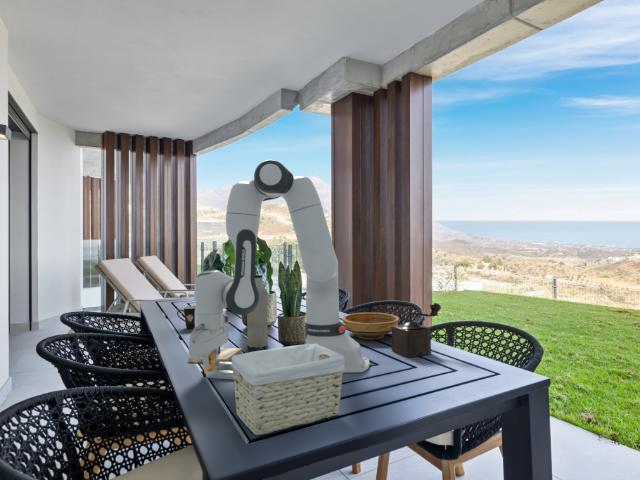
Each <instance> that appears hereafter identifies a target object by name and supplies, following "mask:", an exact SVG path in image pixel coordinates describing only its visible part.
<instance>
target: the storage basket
mask: <svg viewBox="0 0 640 480" xmlns="http://www.w3.org/2000/svg"><path fill="white" fill-rule="evenodd" d="M320 357H321V359H322V358H323V360H320ZM231 362H232V364H231V365H232V367H233V370H232V371H233V374H234V377H233V378H234V380H233V383H234V397H235V399H234V400H235V401H234V402H235V410H236V411H235V413H236V415H237V417H238V418H239V419H240V420H241V421H242V422H243V424H245V426H246V427H247V428H248V429H249V430H250V431H251V433H253V434H254V435H256V436H261V435H262V436H263V435H266V434H270V433H273V432H277V431H280V430H284V429H289V428H291V427H295V426H300V425H307V424H311V423H314V422H316V421H320V420H323V419H327V418H328V419H329V418H330V417H334V416H338V415H339V414H340V407H341V406H340V403H341V396H342V395H341V393H342V392H341V391H342V385H343V383H342V382H343V375H344V373H343V371H344V356H343V355H340V354H338V353H336V352H334V351H332V350H330V349H327V348H325V347H323V346H320V345H318V344H306V343H305V344H298V345H290V346H284V347H283V346H282V347H278V348H277V347H276V348H270V349H263V350H256V351H250V352H245V353H241V354H239V355H234V356H233V357H232V360H231Z"/></svg>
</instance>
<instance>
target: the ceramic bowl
mask: <svg viewBox="0 0 640 480" xmlns="http://www.w3.org/2000/svg"><path fill="white" fill-rule="evenodd" d="M341 320H342V323H343V324H344V323H345V330H347V331H349V332H351V333H352V334H355V335H357V337H358V338H359V339H362V340H363V339H364V340H380V339H383V338H384V337H385V336H386V335H387V334H390V333H392V326H397V325H399V320H400V317H399V316H397V315H395V314H391V313H390V314H389V313H385V312H355V313H350V314H346V315H344V316H342V317H341Z"/></svg>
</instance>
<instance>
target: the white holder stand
mask: <svg viewBox="0 0 640 480" xmlns="http://www.w3.org/2000/svg"><path fill="white" fill-rule="evenodd" d="M208 359H209V360H210V366H208V367H203V368H204V372H203V373H204V375H205V378H206V379H222V380H233V381H234V378H233V377H234V374H233V367H232V365H231V364H232V361H229V362H219V363H216V357H215V352H210V353H209V356H208Z"/></svg>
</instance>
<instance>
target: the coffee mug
mask: <svg viewBox="0 0 640 480" xmlns="http://www.w3.org/2000/svg"><path fill="white" fill-rule="evenodd" d="M195 308H196V305H187V306H184V307H183V309H179V310H177V312H176V315H177V317H178V318H179V319H180V320H181V321H183V322H185V328H186V329H187V330H194V328H195ZM180 311H181V312H183V313H184V318H183V317H181V315H179V312H180Z"/></svg>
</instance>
